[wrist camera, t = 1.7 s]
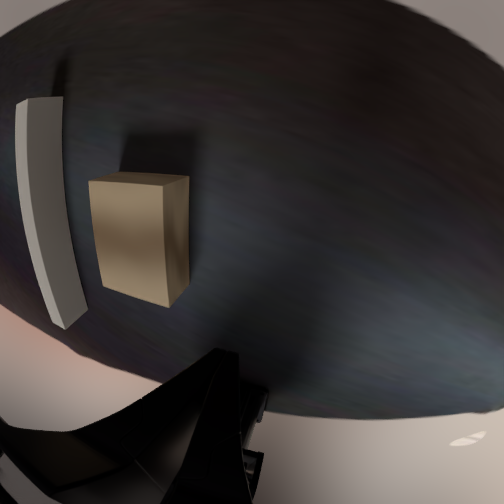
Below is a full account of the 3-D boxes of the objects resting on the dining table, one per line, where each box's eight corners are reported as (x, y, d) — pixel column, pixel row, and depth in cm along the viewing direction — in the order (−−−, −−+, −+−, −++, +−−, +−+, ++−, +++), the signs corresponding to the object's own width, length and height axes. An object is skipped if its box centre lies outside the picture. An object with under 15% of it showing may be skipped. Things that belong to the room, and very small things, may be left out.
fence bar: (88, 309, 25) (65, 329, 22) (75, 303, 26) (52, 322, 22) (63, 96, 16) (28, 98, 12) (49, 101, 16) (16, 104, 13)
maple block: (191, 281, 20) (169, 307, 17) (129, 265, 21) (103, 286, 18) (191, 175, 17) (162, 186, 14) (121, 170, 18) (88, 180, 15)
